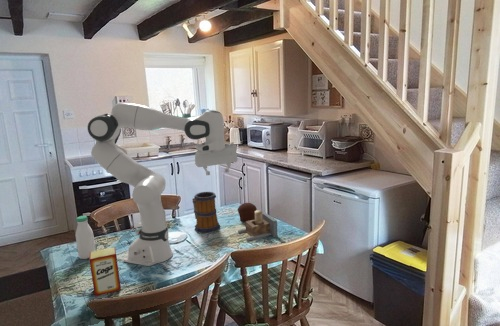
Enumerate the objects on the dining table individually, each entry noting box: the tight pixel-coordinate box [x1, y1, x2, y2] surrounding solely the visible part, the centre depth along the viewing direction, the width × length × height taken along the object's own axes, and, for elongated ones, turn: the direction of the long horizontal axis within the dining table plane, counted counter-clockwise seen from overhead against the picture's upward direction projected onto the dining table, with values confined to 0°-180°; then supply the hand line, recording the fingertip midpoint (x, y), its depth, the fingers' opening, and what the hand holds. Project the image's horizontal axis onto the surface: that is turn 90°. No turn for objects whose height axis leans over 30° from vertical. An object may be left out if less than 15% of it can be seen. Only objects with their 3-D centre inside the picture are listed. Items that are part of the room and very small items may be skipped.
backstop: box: [237, 209, 278, 241], centre depth 181 cm, size 16×18×9 cm
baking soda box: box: [88, 246, 122, 297], centre depth 135 cm, size 10×6×16 cm
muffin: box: [236, 202, 257, 223], centre depth 201 cm, size 12×11×10 cm
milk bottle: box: [75, 215, 97, 260], centre depth 163 cm, size 8×8×20 cm
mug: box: [192, 191, 221, 235], centre depth 192 cm, size 19×14×20 cm
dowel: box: [255, 209, 263, 225], centre depth 181 cm, size 4×4×10 cm
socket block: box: [245, 218, 270, 237], centre depth 182 cm, size 10×9×6 cm
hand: (217, 173), depth 162 cm, fingers open, 8 cm apart
